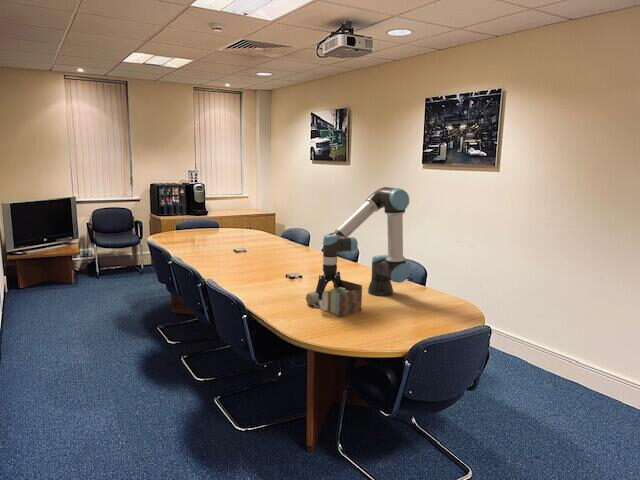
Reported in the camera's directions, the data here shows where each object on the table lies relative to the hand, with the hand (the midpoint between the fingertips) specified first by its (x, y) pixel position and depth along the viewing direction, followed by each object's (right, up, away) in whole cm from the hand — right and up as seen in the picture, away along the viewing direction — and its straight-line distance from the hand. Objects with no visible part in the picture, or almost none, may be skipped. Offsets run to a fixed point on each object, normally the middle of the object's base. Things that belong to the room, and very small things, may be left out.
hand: (329, 303), depth 256 cm
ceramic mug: (-7, -2, +6) cm, 10 cm away
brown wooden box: (+4, -3, 0) cm, 6 cm away
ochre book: (0, -3, +1) cm, 3 cm away
